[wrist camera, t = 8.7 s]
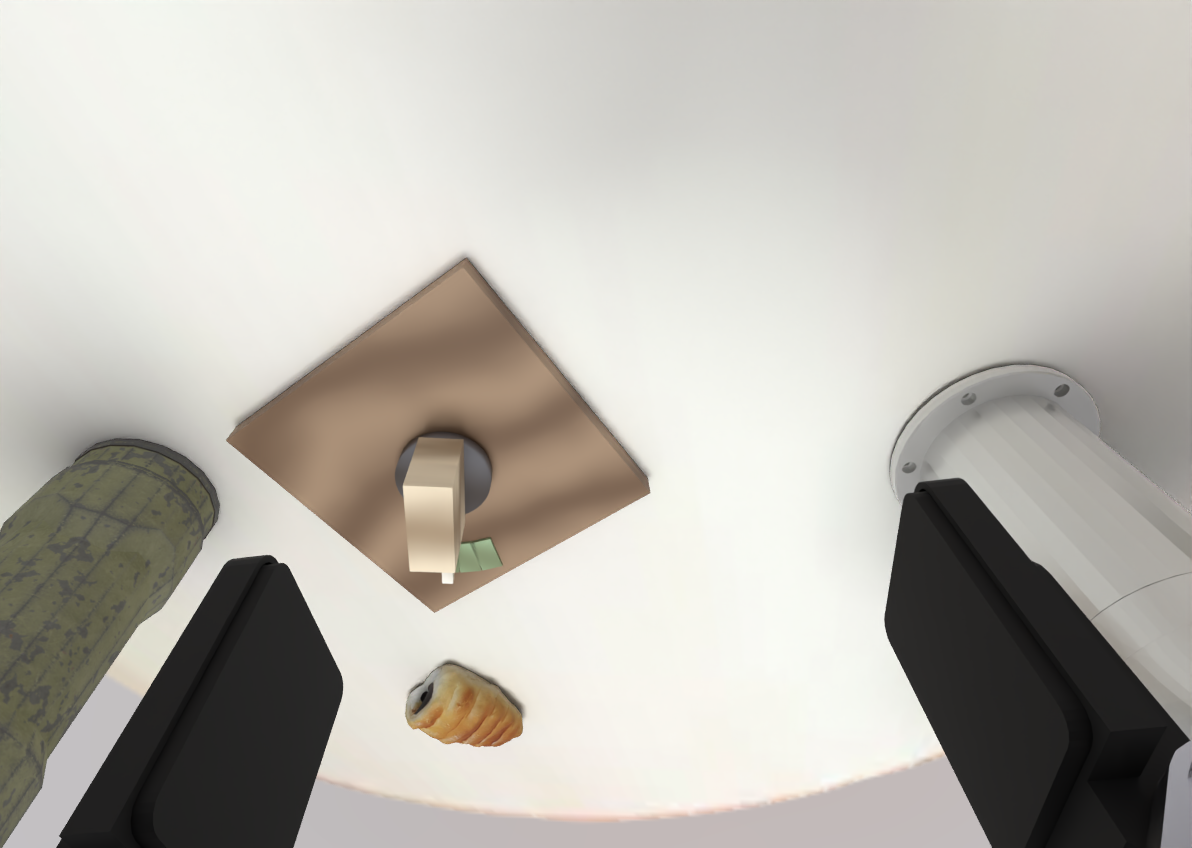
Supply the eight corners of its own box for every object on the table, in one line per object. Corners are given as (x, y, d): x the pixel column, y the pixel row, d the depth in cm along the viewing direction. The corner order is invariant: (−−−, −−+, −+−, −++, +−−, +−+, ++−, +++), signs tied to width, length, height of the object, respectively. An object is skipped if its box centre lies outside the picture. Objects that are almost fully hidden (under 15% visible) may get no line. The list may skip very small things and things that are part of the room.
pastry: (541, 698, 56) (540, 741, 53) (495, 737, 59) (490, 780, 56) (445, 653, 53) (437, 696, 49) (400, 696, 55) (389, 740, 52)
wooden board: (647, 478, 44) (650, 494, 43) (437, 596, 49) (434, 614, 48) (466, 257, 36) (462, 268, 34) (236, 426, 41) (224, 442, 39)
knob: (394, 426, 39) (371, 484, 34) (492, 431, 40) (482, 489, 35) (407, 571, 45) (388, 637, 41) (491, 574, 46) (483, 640, 41)
